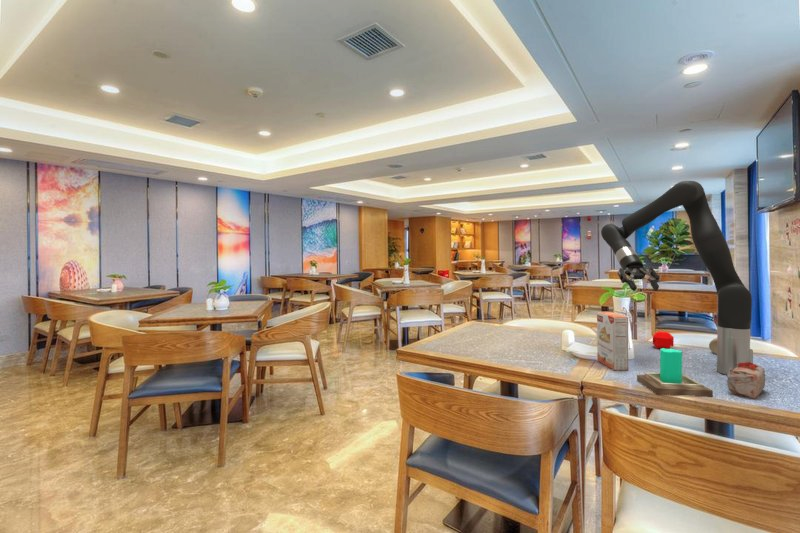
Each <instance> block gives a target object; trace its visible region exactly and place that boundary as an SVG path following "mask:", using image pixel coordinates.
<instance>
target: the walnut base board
mask: <svg viewBox="0 0 800 533" xmlns="http://www.w3.org/2000/svg"><path fill="white" fill-rule="evenodd" d="M636 381H637V382H639V383H640V384H641V385H643V386H644V387H645V386H646V388H647V389H648V388H649V389H648V390H650V389H651V390H652V391H653V392H652V391H651V390H650V391H651V392H652V393H654V394H655V395H658V396H659V395H661V396H679V395H695V396H694V397H702V396H707V398H713V396H714V392H713V391H714V390H712V389H710V388H709V387H707V386H706V385H704V384H702V383H701V382H699V381H696V380H695V379H693V378H691V377H689V376H687V375H686V374H684V373H682V384H679V383H664V382H662V381H660V372H644V374H636ZM667 394H668V395H667ZM669 394H670V395H669Z"/></svg>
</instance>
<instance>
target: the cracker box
mask: <svg viewBox="0 0 800 533" xmlns="http://www.w3.org/2000/svg"><path fill="white" fill-rule="evenodd" d="M596 314H597V315H596V319H597V320H596V324H597V326H596V329H597V330H596V332H597V333H596V340H597V343H596V345H597V346H596V347H597V349H596V350H597V351H596V352H597V353H596V354H597V356H596V358H597V361H598V362H599V363H601V364H603V365H604V366H606V367H607V368H609V369H610V370H612V371H617V372H618V371H629V317H628V316H626V315H625V316H624V315H622V314H619V313H616V312H613V311H597V312H596Z"/></svg>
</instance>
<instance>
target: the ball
mask: <svg viewBox="0 0 800 533" xmlns="http://www.w3.org/2000/svg"><path fill="white" fill-rule="evenodd" d="M674 338H675V337H674V336H673V334H671V333H670V332H668V331H661V330H660V331H657V332H655V333H654V334H653V335H652V345H653V346H654V347H655V348H657V349H658V348H661V349H662V348H664V349H672V348H673V347H674V345H675V344H674Z"/></svg>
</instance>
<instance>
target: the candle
mask: <svg viewBox="0 0 800 533" xmlns="http://www.w3.org/2000/svg"><path fill="white" fill-rule="evenodd" d="M659 350H660V351H659V373H660V381H662V382H664V383H679V384H682V374H683V351H682V350H678V349H674V348H670V349H664V348H662V349H659Z"/></svg>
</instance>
